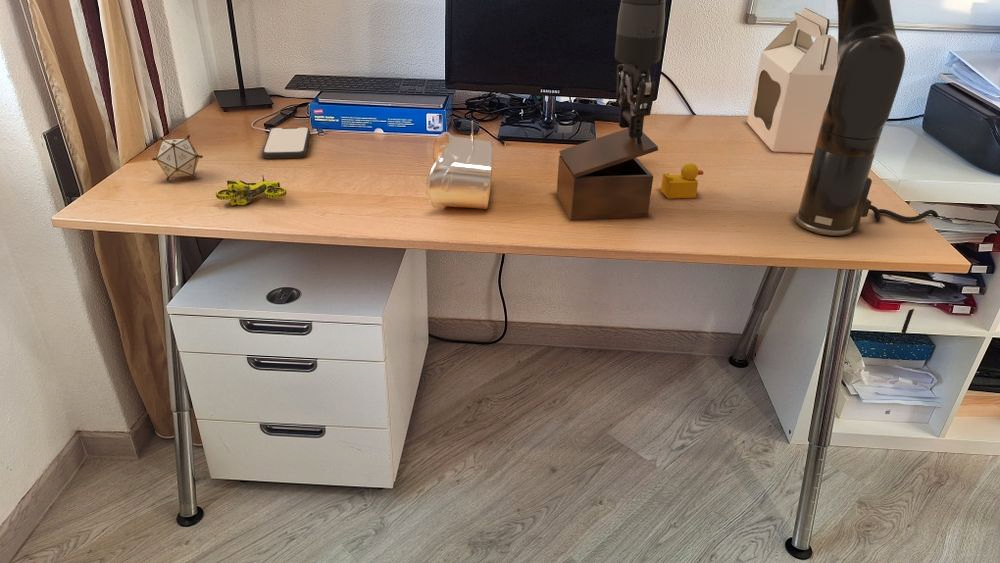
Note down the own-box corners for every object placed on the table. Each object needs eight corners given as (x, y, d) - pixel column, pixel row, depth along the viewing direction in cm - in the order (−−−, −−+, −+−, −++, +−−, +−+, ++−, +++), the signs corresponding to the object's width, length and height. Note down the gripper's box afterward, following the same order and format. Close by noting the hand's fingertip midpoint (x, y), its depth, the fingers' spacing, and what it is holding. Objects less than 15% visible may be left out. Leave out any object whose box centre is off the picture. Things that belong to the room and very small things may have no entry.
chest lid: (636, 129, 131) (631, 99, 128) (658, 150, 121) (652, 118, 118) (559, 154, 131) (552, 125, 128) (575, 178, 122) (567, 147, 118)
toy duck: (666, 198, 135) (671, 168, 132) (659, 190, 138) (664, 160, 135) (702, 197, 136) (708, 167, 133) (694, 189, 140) (699, 159, 137)
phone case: (306, 159, 148) (311, 133, 162) (305, 152, 147) (310, 126, 161) (261, 160, 147) (270, 134, 160) (260, 153, 146) (269, 127, 160)
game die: (174, 196, 139) (137, 153, 136) (210, 171, 142) (175, 129, 139) (180, 188, 131) (141, 143, 128) (218, 162, 135) (181, 117, 132)
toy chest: (627, 192, 137) (632, 153, 134) (647, 217, 127) (653, 176, 124) (556, 194, 135) (559, 155, 131) (570, 220, 125) (574, 178, 122)
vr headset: (433, 177, 141) (431, 104, 134) (491, 178, 141) (492, 106, 134) (427, 215, 125) (425, 135, 118) (492, 216, 126) (493, 136, 119)
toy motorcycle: (212, 188, 123) (219, 174, 129) (215, 208, 125) (222, 194, 131) (284, 185, 125) (287, 172, 131) (286, 206, 127) (290, 191, 133)
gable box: (746, 122, 179) (770, 4, 165) (799, 124, 179) (827, 6, 165) (772, 152, 160) (802, 21, 146) (831, 154, 160) (867, 23, 146)
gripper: (677, 39, 111) (664, 144, 119) (647, 22, 123) (637, 119, 132) (631, 40, 110) (621, 146, 118) (605, 23, 122) (598, 120, 131)
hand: (629, 131), depth 125 cm, fingers closed on chest lid, 5 cm apart
